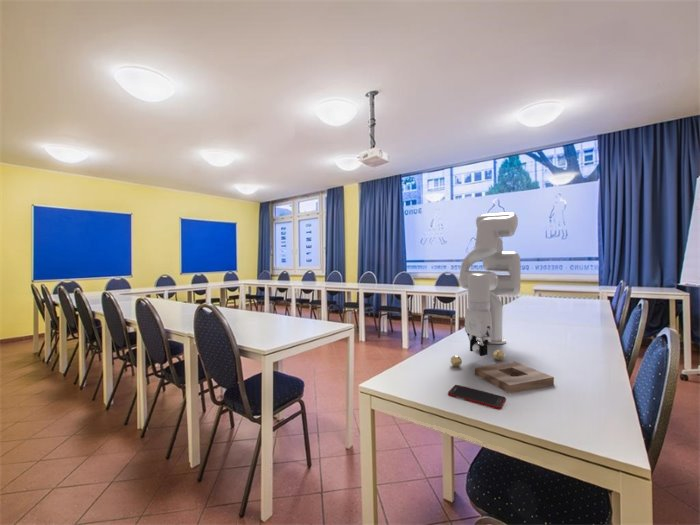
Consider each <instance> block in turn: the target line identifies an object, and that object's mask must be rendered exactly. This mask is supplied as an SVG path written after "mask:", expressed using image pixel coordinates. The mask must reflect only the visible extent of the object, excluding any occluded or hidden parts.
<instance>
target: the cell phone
mask: <svg viewBox="0 0 700 525" xmlns="http://www.w3.org/2000/svg"><path fill="white" fill-rule="evenodd" d="M447 395H448V396H449V397H453V398H456V399H461V400H464V401H467V402H470V403H474V404H478V405H481V406H485V407H488V408H492V409H496V410H502V409H503V406H504V404H505V403H506V400H507V399H506V398H507V397H506V396H504V395H500V394H495V393H493V392H492V393H491V392H487V391H484V390H481V389H476V388H471V387H469V386H464V385H461V384H460V385H459V384H455V385H453V387H452V388H451V389H450V390H448V392H447Z"/></svg>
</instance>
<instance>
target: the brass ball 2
mask: <svg viewBox="0 0 700 525" xmlns="http://www.w3.org/2000/svg"><path fill="white" fill-rule="evenodd" d="M505 357H506V356H505V353H504V351H503V350H501V349H495V350H494V351H493V358H494V359H495V360H496V361H503V360H504V358H505Z"/></svg>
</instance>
